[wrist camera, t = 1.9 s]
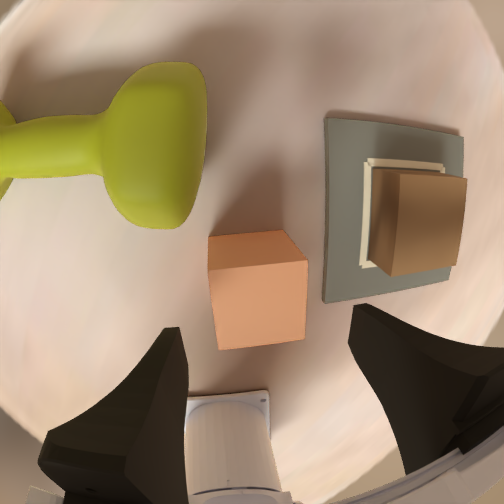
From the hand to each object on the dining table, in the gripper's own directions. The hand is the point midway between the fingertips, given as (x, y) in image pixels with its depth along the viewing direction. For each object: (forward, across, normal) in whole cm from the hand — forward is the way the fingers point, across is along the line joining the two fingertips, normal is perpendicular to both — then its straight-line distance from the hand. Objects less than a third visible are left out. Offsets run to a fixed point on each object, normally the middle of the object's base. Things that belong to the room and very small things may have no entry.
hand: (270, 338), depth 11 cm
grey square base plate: (+7, -11, -3) cm, 14 cm away
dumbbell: (+8, +10, -9) cm, 15 cm away
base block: (+7, -11, -3) cm, 13 cm away
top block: (+7, 0, 0) cm, 7 cm away
